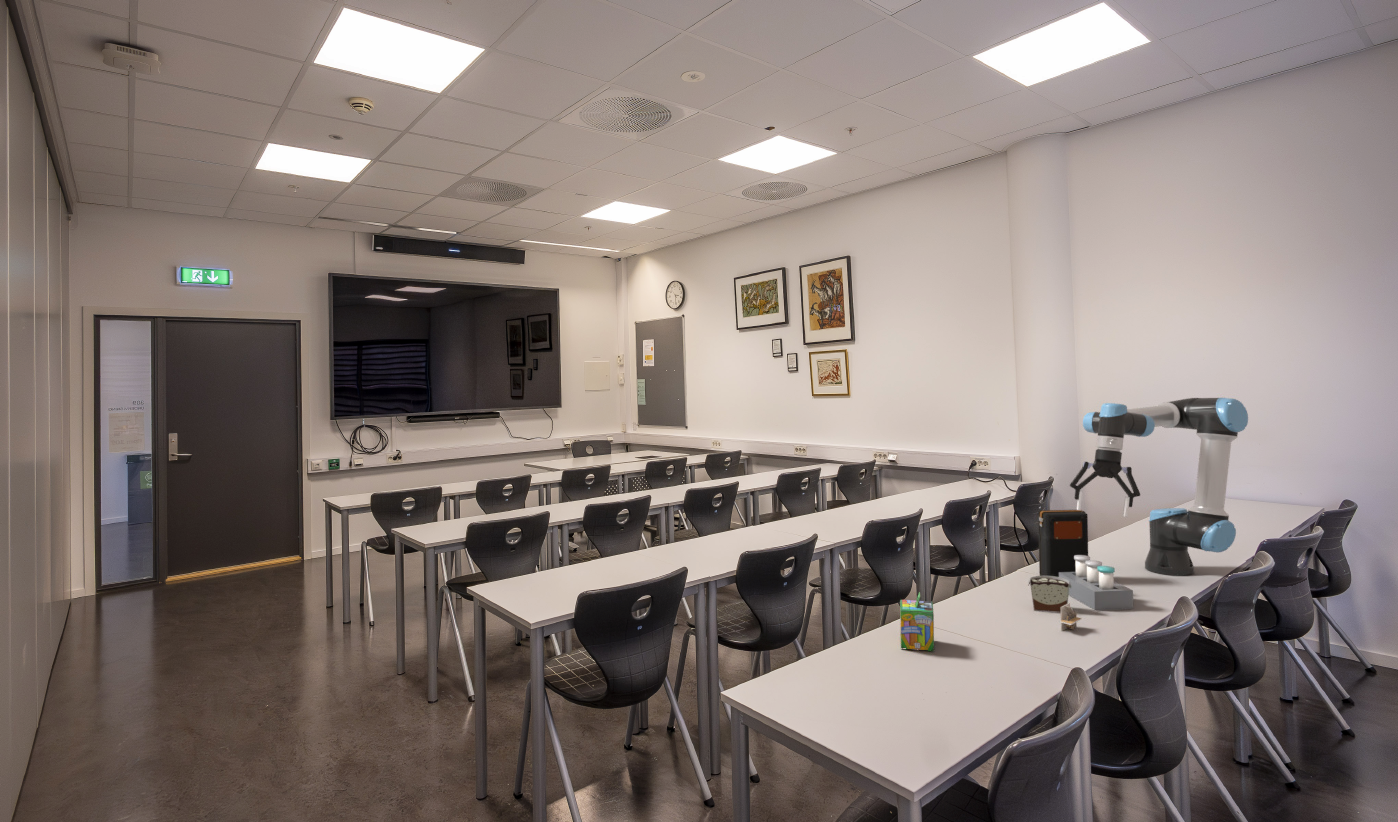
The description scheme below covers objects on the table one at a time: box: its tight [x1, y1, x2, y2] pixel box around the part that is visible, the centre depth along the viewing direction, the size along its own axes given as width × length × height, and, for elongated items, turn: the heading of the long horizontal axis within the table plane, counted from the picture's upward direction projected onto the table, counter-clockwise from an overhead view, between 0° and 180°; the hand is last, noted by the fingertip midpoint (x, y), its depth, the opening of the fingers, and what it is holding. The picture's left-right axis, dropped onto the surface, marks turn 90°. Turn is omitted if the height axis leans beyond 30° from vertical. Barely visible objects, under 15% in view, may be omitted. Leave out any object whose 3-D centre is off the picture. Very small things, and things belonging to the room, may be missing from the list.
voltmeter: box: [1037, 509, 1089, 577], centre depth 250 cm, size 16×9×25 cm, turn 84°
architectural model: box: [1059, 602, 1082, 632], centre depth 201 cm, size 3×7×7 cm, turn 127°
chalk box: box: [899, 591, 935, 652], centre depth 194 cm, size 9×9×15 cm
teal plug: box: [1097, 565, 1116, 590], centre depth 220 cm, size 5×5×8 cm
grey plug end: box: [1074, 555, 1091, 577], centre depth 234 cm, size 5×5×8 cm
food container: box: [1027, 575, 1072, 614], centre depth 219 cm, size 12×6×10 cm, turn 71°
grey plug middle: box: [1085, 559, 1103, 583], centre depth 227 cm, size 5×5×8 cm
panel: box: [1059, 572, 1134, 611], centre depth 227 cm, size 12×22×6 cm, turn 179°
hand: (1101, 513), depth 227 cm, fingers open, 13 cm apart
